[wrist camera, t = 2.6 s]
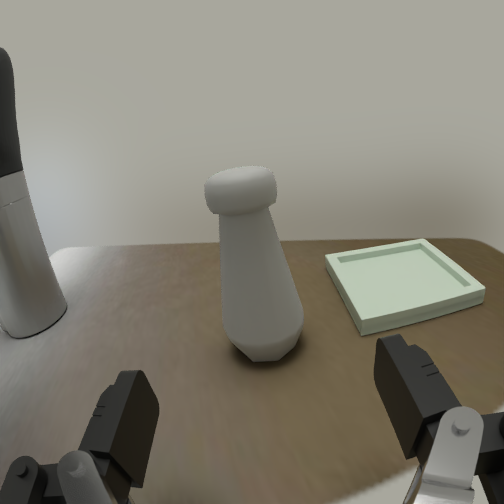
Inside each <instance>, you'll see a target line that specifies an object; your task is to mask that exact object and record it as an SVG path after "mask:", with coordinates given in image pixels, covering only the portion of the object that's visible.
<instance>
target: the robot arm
mask: <svg viewBox="0 0 504 504" xmlns="http://www.w3.org/2000/svg"><path fill="white" fill-rule="evenodd" d="M22 170H23V166H22V161H21V154H20V144H19V137H18V130H17V122H16V110H15V89H14V76H13V68H12V63H11V60H10V57H9V56H8V54H7V52H6V51H5V50H4V49H3V48H0V325H1V327H2V329H3V331H8V333H9V334H10V335H11V336H12V337H16V338H22V337H27V336H30V335H33V334H36V333H38V332H40V331H42V330H44V329H46V328H47V327H49V326H50V325H52V324H53V323H54V322H55V321H57V320H58V319H59V318H60V317H61V316H62V315H63V313H64V312H65V310H66V307H67V303H66V301H65V298H64V296H63V293H62V291H61V289H60V286H59V284H58V281H57V279H56V276H55V273H54V270H53V268H52V265H51V262H50V260H49V257H48V254H47V251H46V249H45V245H44V242H43V239H42V237H41V233H40V230H39V227H38V224H37V220H36V217H35V213H34V210H33V206H32V203H31V199H30V195H29V192H28V188H27V183H26V179H25V175H24V171H22ZM374 380H375V385H376V387H377V390H378V392H379V394H380V397H381V399H382V401H383V404H384V406H385V408H386V411H387V413H388V416H389V418H390V420H391V423H392V425H393V428H394V430H395V433H396V435H397V438H398V440H399V442H400V445H401V448H402V450H403V453H404V455H405V458H406V460H407V459H410V458H413V457H416V456H417V458H418V461H419V463H420V464H419V466H418V468H417V471H416V473H415V476H414V478H413V481H412V483H411V486H410V488H409V490H408V493H407V495H406V497H405V499H404V502H403V504H472V503H473V499H474V489H472V488H471V484H472V480H473V476H475V475H478V476H479V479H480V481H481V483H482V486H483V489H484V491H485V494H486V497H487V500H488V502H489V504H504V412H500V413H493V414H487V415H480V414H479V413H478V412H477V411H475V410H474V409H471V408H469V407H462V405H461V404H460V403H459V401H458V400H457V398H456V396H455V395H454V393H453V392H452V390H451V388H450V387H449V385H448V384H447V382H446V381H445V379H444V377H443V376H442V374H441V373H439V370H438V368H437V367H436V365H434V362H433V361H432V359H431V358H430V356H429V355H428V353H427V352H426V351H424V350H423V349H421V348H420V347H418V346H417V345H411V346H408V345H407V344H406V342H405V341H404V339H403V337H402V336H401V335H400V334H395V335H391V336H386V337H382V338H379V339H378V340H377V343H376V354H375V363H374ZM96 406H97V408H95V410H94V412H93V417H91V419H90V422H89V424H88V426H87V429H86V431H85V434H84V436H83V439H82V441H81V444H80V446H79V449H78V451H72V452H69V453H67V454H66V455H64V456H63V457H62V458H61V460H60V461H59V463H57V464H48V465H39V464H38V463H37V462H36V461H35V460H34V459H33V458H32V457H29V456H21V457H19V458H17V459H16V460H14V461H13V463H12V464H11V466H10V468H9V470H8V473H7V475H6V478H5V480H4V483H3V485H2V488H1V491H0V504H135V503H134V501H133V499H132V497H131V496H130V495H129V491H130V487H136V488H142V487H143V482H144V478H145V473H146V469H147V464H148V460H149V455H150V451H151V446H152V442H153V438H154V434H155V429H156V425H157V421H158V417H159V403H158V400H157V397H156V395H155V394H154V392H153V390H152V388H151V386H150V384H149V382H148V380H147V378H146V376H145V374H144V372H143V371H141V370H134V371H121V372H120V373H119V375H118V377H117V379H116V382H115V384H114V385H110V386H109V387H108V388H107V389H106V390H105V391H104V392H103V393H102V394H101V396H100V398H99V401H98V403H97V405H96Z"/></svg>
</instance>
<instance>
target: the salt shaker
mask: <svg viewBox="0 0 504 504" xmlns="http://www.w3.org/2000/svg"><path fill="white" fill-rule="evenodd" d="M276 197H277V187H276V181H275V178H274V175H273V172H271V171H270V170H269V169H267V168H265V167H260V166H245V167H238V168H232V169H228V170H224V171H221V172H218V173H216V174H214V175H213V176H211V177H210V178H209V179H208V180H207V182H206V183H205V198H206V202H207V206H208V207H209V209H210V211H211V212H212V213H213V214H219V234H220V267H221V293H222V316H223V327H224V329H225V331H226V333H227V336H228V338H229V340H230V341H231V342H232V343H233V344H234V345H235V346H236V347H237V348H239V349H240V350H241V351H242V352H243V353H244V354H245V355H246V356H248V357H249V358H250V359H251V360H252V361H253V362H260V361H279V360H280V359H281V358H282V357H283V356H284V355H286V354H287V353H288V352H289V351H290V350H291V349H292V348H294V347H295V345H296V342H297V340H298V338H299V335H300V333H301V331H302V328H303V324H304V315H303V308H302V305H301V302H300V299H299V296H298V293H297V290H296V287H295V284H294V282H293V279H292V276H291V273H290V270H289V267H288V264H287V261H286V258H285V255H284V253H283V250H282V247H281V244H280V241H279V238H278V236H277V233H276V230H275V227H274V224H273V220H272V217H271V214H270V211H269V208H268V207H269V206H270V205H272V204H274V203H275V202H276Z"/></svg>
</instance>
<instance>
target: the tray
mask: <svg viewBox="0 0 504 504" xmlns="http://www.w3.org/2000/svg"><path fill="white" fill-rule="evenodd" d="M325 261H326V269H327V271H328V273H329V274H330V276H331V278H332V280H333V282H334V284H335V286H336V288H337V290H338V291H339V293H340V295H341V297H342V299H343V301H344V303H345V305H346V307H347V309H348V311H349V313H350V315H351V317H352V319H353V321H354V323H355V325H356V327H357V329H358V331H359V333H360V335H361V336H363V335H368V334H372V333H377V332H381V331H385V330H389V329H394V328H398V327H402V326H405V325H409V324H413V323H417V322H421V321H424V320H428V319H432V318H435V317H439V316H442V315H446V314H449V313H452V312H456V311H459V310H462V309H465V308H468V307H472V306H475V305H478V304H481V303H483V299H484V294H485V289H486V288H485V287H484V286H483V285H482V284H480V283H479V282H478V281H477V280H476V279H474V278H473V277H472V276H471V275H470V274H468V273H467V272H466V271H465V270H464V269H462V268H461V267H460V266H459V265H457V264H456V263H455V262H454V261H452V260H451V259H450V258H448V257H447V256H446V255H445V254H443V253H442V252H441V251H439V250H438V249H437V248H435V247H434V246H433V245H431V244H430V243H429V242H427V241H426V240H425V239H418V240H412V241H407V242H401V243H395V244H389V245H383V246H377V247H371V248H365V249H359V250H353V251H347V252H341V253H335V254H328V255H325Z"/></svg>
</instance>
